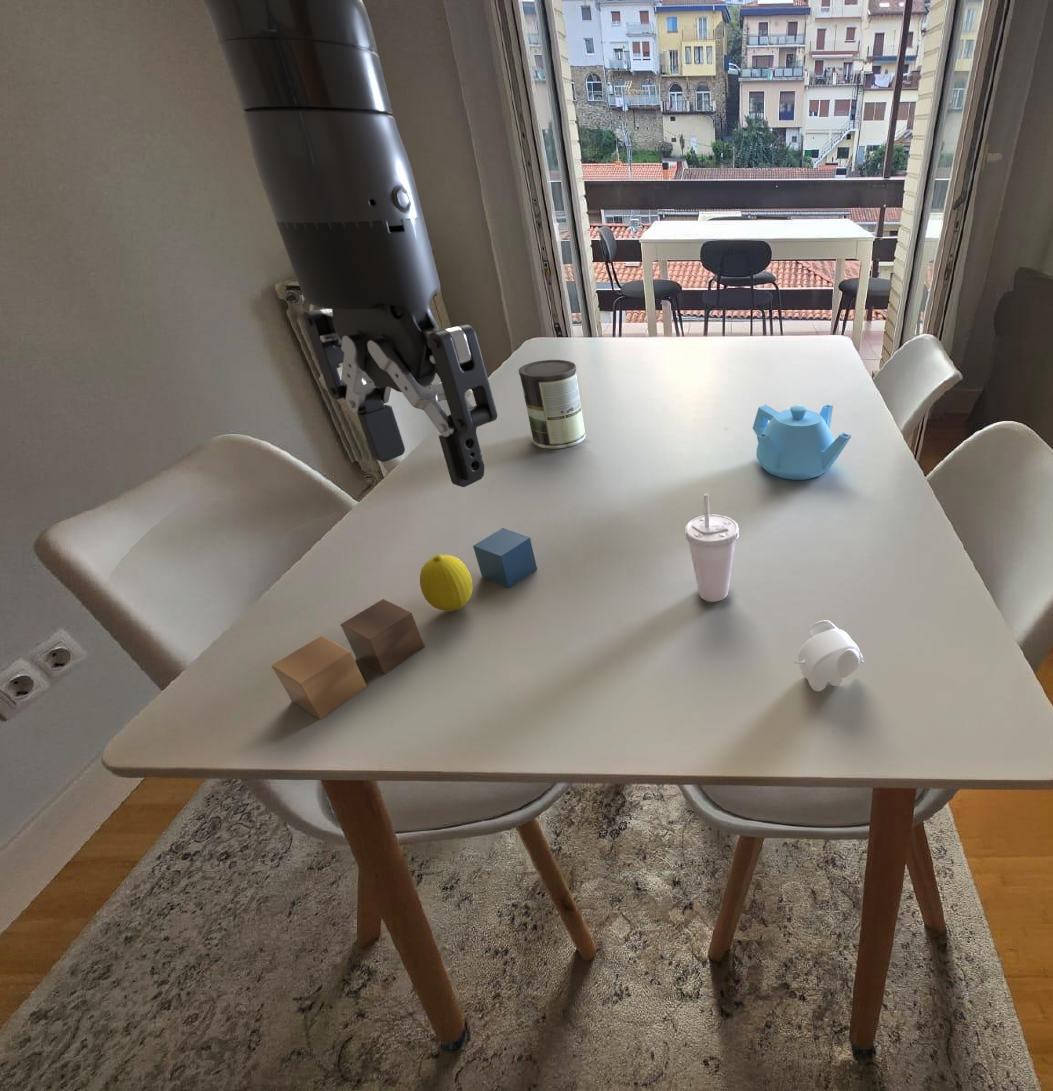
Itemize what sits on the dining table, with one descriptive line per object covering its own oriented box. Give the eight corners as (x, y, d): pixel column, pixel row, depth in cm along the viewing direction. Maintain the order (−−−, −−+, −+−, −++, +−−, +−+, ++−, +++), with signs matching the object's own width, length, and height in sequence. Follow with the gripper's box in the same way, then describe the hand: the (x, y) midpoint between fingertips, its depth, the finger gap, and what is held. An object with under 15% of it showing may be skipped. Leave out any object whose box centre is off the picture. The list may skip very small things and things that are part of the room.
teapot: (831, 447, 113) (836, 391, 107) (847, 483, 100) (853, 422, 94) (751, 448, 113) (752, 393, 107) (756, 485, 100) (757, 424, 94)
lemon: (469, 624, 71) (451, 569, 66) (423, 624, 71) (402, 569, 66) (485, 595, 75) (470, 542, 71) (442, 595, 75) (424, 542, 71)
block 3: (508, 588, 76) (500, 556, 74) (481, 577, 79) (472, 545, 76) (537, 568, 80) (530, 537, 77) (510, 558, 82) (502, 527, 80)
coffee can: (524, 448, 114) (509, 375, 106) (543, 428, 122) (530, 359, 115) (576, 450, 113) (565, 376, 105) (592, 429, 121) (582, 360, 114)
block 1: (320, 719, 59) (299, 683, 56) (291, 700, 61) (270, 665, 58) (367, 686, 62) (350, 651, 60) (338, 670, 64) (321, 635, 62)
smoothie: (693, 575, 78) (688, 480, 71) (741, 579, 78) (742, 483, 70) (683, 606, 73) (677, 506, 65) (735, 610, 72) (735, 510, 65)
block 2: (384, 674, 64) (369, 639, 61) (356, 658, 66) (340, 624, 63) (425, 646, 67) (411, 612, 65) (396, 632, 70) (383, 598, 67)
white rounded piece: (876, 690, 61) (884, 647, 58) (806, 712, 59) (810, 668, 56) (843, 648, 67) (848, 606, 63) (778, 666, 64) (780, 624, 61)
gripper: (213, 213, 34) (318, 469, 43) (367, 219, 28) (453, 515, 37) (339, 206, 40) (410, 434, 49) (489, 211, 34) (539, 470, 43)
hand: (428, 469), depth 43 cm, fingers open, 8 cm apart
